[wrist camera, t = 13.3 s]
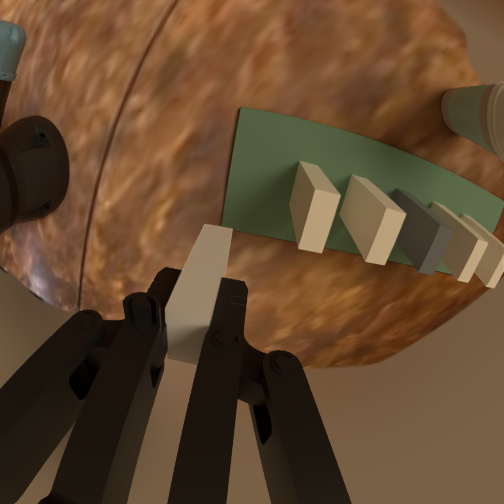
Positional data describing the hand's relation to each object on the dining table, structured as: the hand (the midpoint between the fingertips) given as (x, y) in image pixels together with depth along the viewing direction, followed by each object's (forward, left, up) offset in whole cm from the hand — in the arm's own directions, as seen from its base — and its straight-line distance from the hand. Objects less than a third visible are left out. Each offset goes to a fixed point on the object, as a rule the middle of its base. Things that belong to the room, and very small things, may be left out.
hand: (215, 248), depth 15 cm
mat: (+19, 0, -17) cm, 25 cm away
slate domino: (+19, 0, -16) cm, 25 cm away
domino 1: (+7, 0, -16) cm, 18 cm away
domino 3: (+25, 0, -16) cm, 30 cm away
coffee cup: (+24, +15, -17) cm, 33 cm away
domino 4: (+31, 0, -16) cm, 35 cm away
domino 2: (+13, 0, -16) cm, 21 cm away
